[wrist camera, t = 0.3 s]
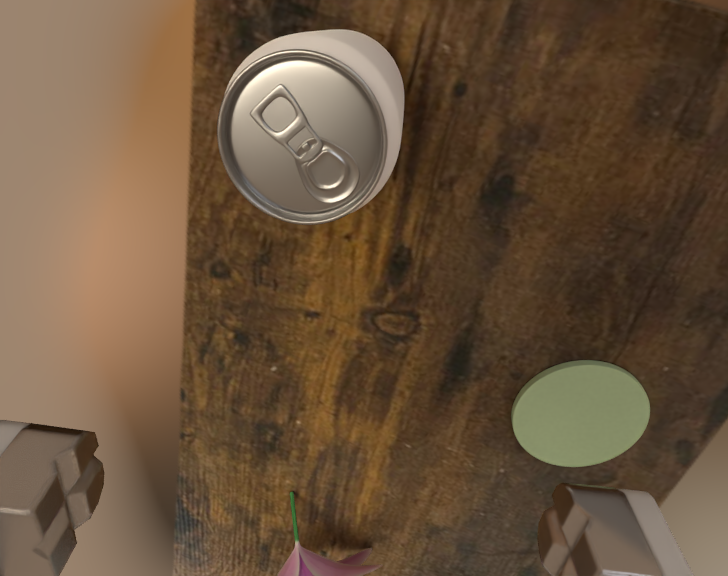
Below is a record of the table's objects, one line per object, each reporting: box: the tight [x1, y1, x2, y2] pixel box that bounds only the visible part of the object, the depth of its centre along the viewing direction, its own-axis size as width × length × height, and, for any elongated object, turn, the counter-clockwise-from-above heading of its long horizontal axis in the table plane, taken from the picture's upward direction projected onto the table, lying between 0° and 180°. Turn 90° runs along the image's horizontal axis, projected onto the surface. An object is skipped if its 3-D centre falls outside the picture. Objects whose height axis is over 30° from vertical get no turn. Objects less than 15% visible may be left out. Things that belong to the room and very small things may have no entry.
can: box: [217, 29, 404, 225], centre depth 22 cm, size 6×6×12 cm
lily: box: [277, 492, 382, 576], centre depth 40 cm, size 12×12×10 cm
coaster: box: [511, 360, 650, 467], centre depth 35 cm, size 9×9×1 cm
